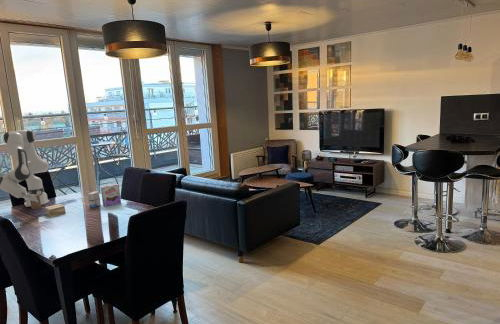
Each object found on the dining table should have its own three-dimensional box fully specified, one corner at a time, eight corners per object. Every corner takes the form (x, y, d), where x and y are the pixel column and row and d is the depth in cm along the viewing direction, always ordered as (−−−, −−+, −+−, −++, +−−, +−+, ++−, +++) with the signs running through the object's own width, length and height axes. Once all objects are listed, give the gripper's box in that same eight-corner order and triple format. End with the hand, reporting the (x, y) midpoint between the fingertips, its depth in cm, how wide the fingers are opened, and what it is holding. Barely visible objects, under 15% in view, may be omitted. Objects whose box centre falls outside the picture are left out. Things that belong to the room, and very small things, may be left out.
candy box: (103, 206, 281) (101, 187, 278) (102, 205, 286) (100, 186, 283) (121, 203, 287) (118, 184, 285) (120, 202, 292) (117, 183, 290)
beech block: (46, 214, 270) (45, 207, 269) (61, 210, 277) (60, 203, 276) (50, 217, 262) (48, 209, 261) (65, 213, 269) (64, 206, 268)
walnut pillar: (31, 208, 264) (29, 196, 262) (38, 206, 268) (36, 194, 266) (34, 209, 261) (32, 196, 259) (41, 207, 264) (39, 195, 263)
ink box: (94, 207, 280) (92, 193, 278) (89, 207, 281) (87, 193, 279) (101, 204, 288) (99, 191, 286) (95, 204, 289) (94, 191, 287)
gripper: (27, 190, 249) (44, 199, 258) (17, 186, 262) (33, 195, 271) (22, 197, 247) (39, 206, 256) (11, 193, 259) (28, 202, 268)
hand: (36, 201), depth 264 cm, fingers closed on walnut pillar, 5 cm apart
